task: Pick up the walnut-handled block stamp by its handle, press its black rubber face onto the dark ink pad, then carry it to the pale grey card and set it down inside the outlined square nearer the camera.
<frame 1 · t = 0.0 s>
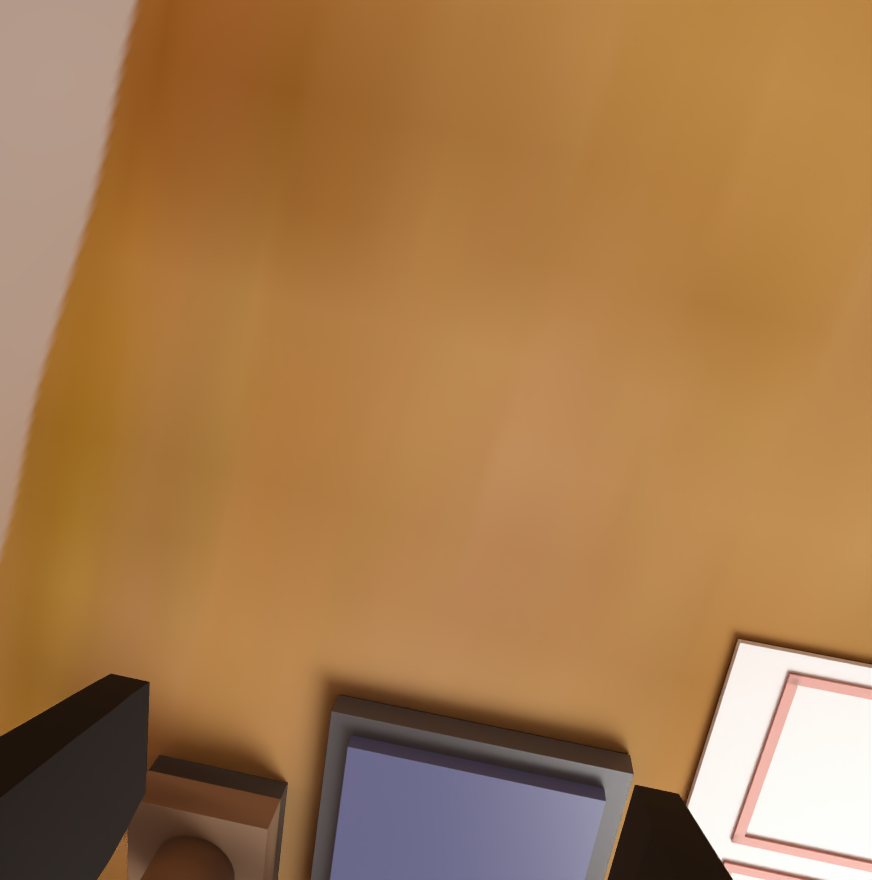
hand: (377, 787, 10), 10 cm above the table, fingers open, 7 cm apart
sheet: (825, 865, 22), on the table
stamp: (220, 819, 24), on the table
ink pad: (458, 839, 23), on the table
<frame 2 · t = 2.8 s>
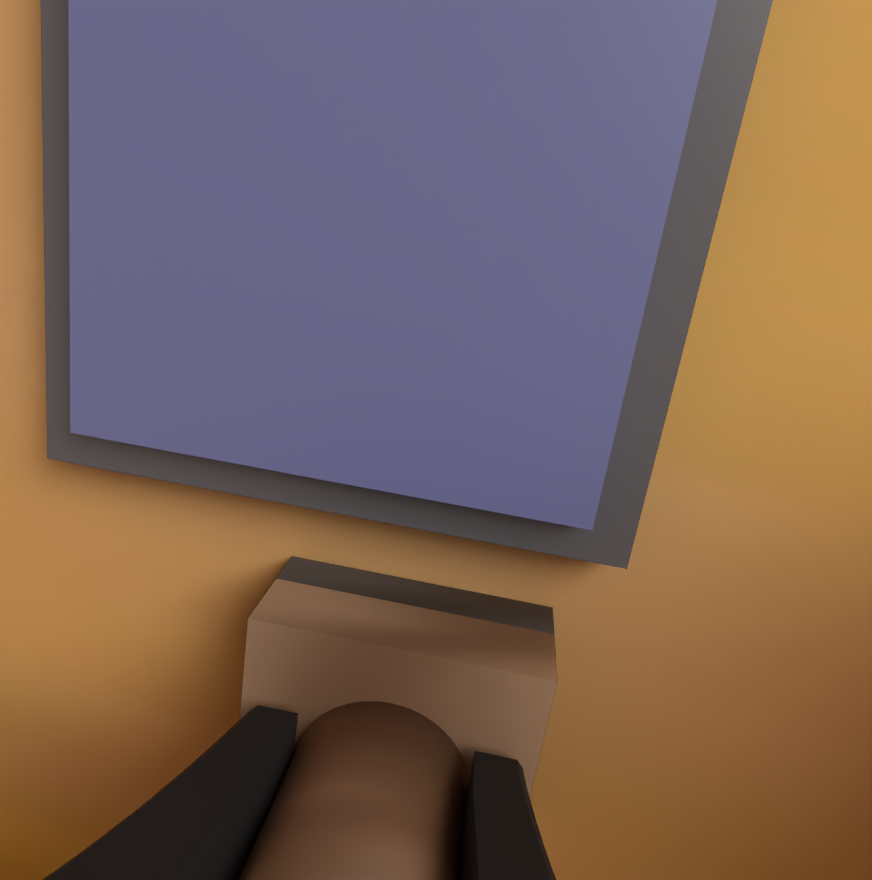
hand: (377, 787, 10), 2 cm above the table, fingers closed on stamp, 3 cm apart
stamp: (402, 692, 13), on the table, touching gripper
ink pad: (375, 203, 10), on the table
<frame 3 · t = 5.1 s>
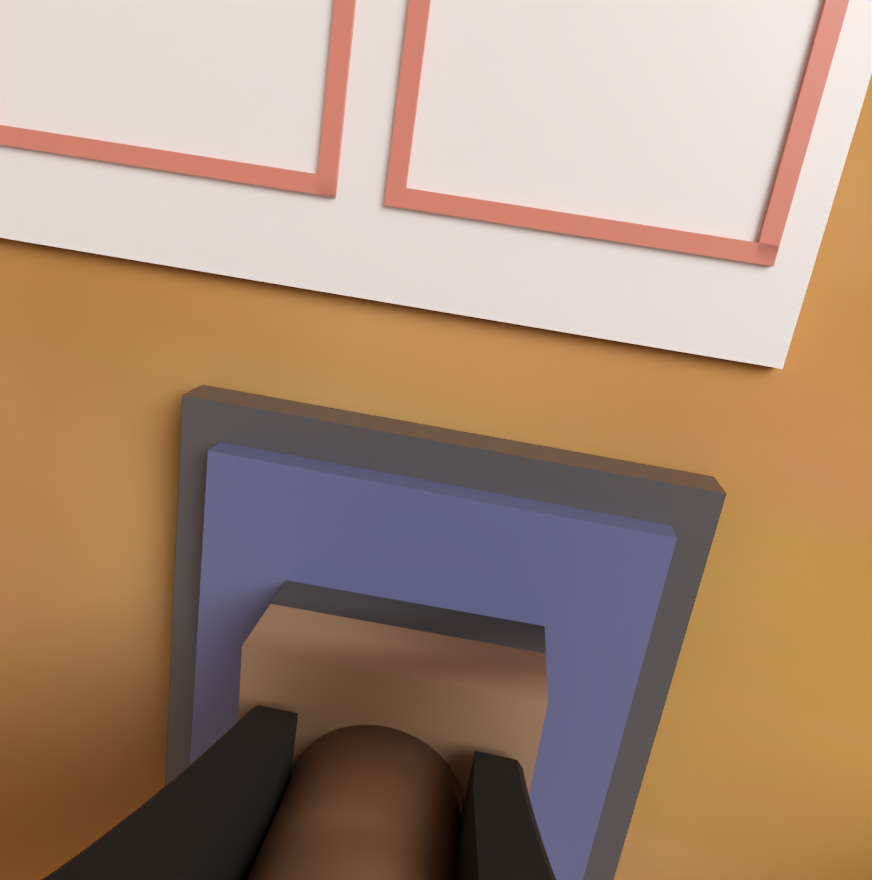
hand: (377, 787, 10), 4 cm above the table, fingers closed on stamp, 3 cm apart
stamp: (399, 712, 13), point 1 cm above the table, touching gripper, ink pad
ink pad: (415, 651, 14), on the table
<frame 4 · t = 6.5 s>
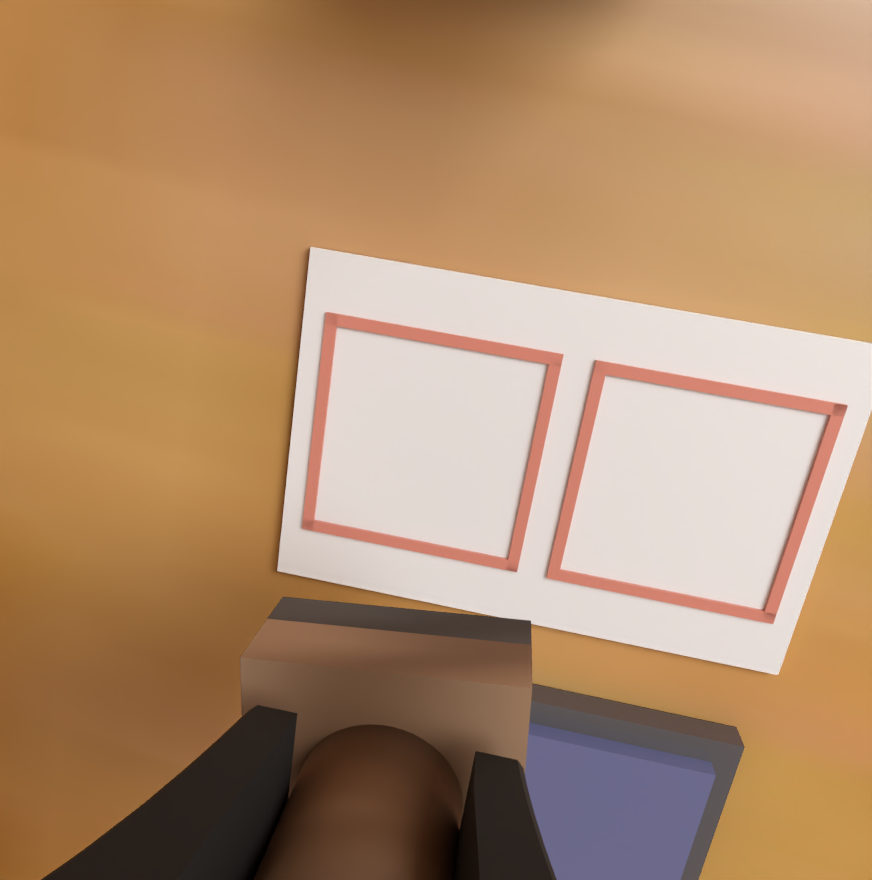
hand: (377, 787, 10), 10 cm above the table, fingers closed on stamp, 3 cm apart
sheet: (554, 467, 19), on the table
stamp: (400, 717, 13), point 7 cm above the table, touching gripper
ink pad: (545, 817, 22), on the table
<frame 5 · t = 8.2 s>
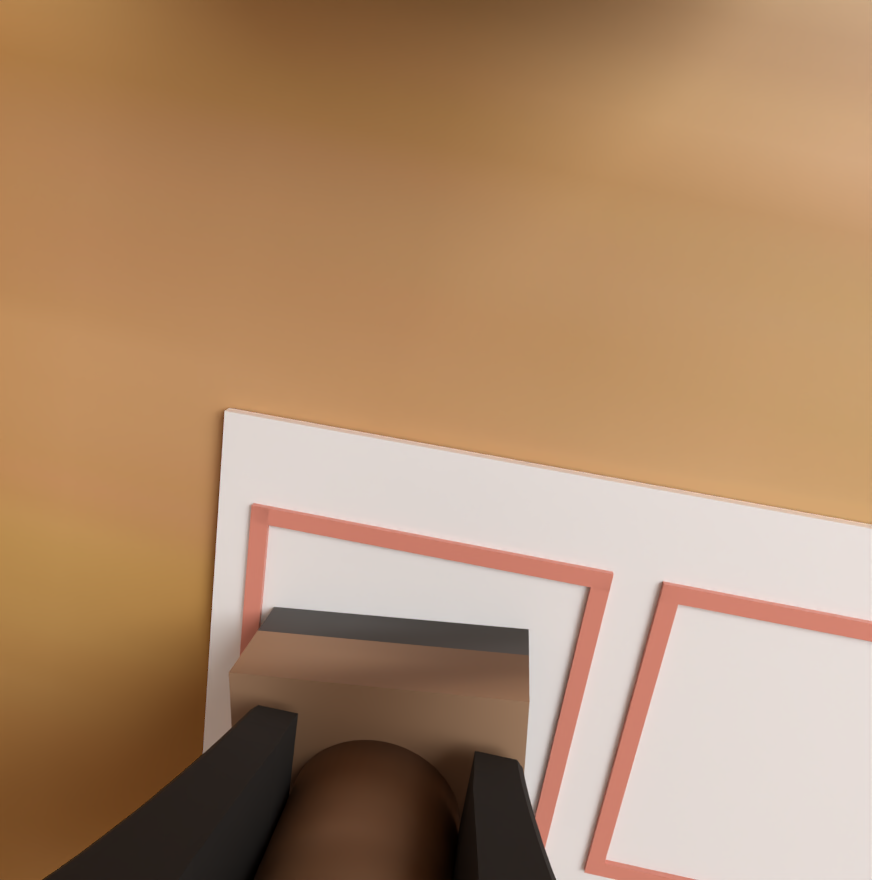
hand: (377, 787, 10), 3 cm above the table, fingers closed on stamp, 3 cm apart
sheet: (596, 722, 13), on the table
stamp: (396, 728, 13), resting on sheet, touching gripper
when the fingers open (3 cm above the table, at t = 9.2 s): stamp stays where it is, resting on sheet.
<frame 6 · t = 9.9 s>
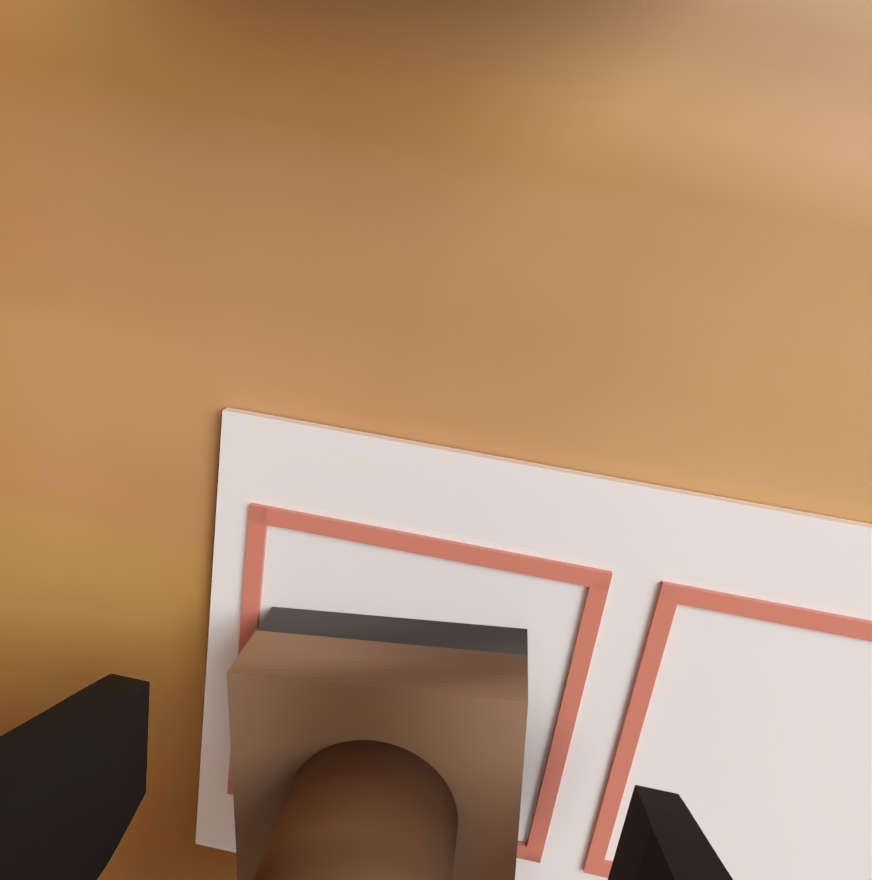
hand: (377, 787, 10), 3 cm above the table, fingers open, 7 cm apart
sheet: (595, 722, 13), on the table
stamp: (395, 728, 13), resting on sheet
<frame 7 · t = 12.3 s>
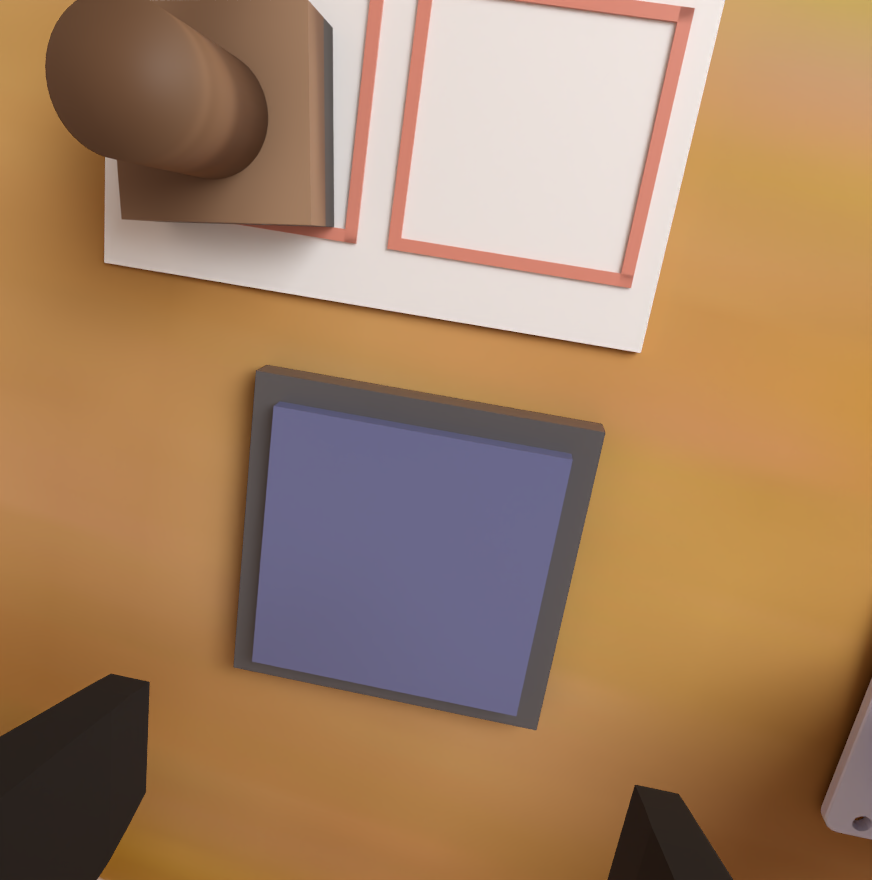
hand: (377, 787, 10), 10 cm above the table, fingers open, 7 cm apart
sheet: (389, 117, 17), on the table
stamp: (244, 129, 17), resting on sheet
ink pad: (408, 547, 20), on the table
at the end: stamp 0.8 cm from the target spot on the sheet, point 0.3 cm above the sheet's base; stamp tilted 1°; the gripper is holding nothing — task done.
